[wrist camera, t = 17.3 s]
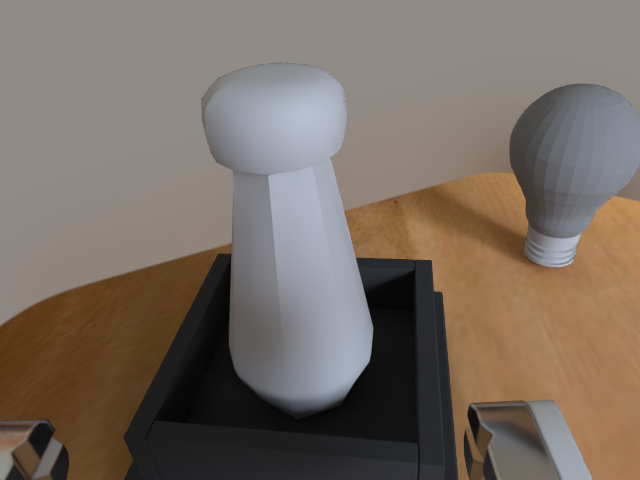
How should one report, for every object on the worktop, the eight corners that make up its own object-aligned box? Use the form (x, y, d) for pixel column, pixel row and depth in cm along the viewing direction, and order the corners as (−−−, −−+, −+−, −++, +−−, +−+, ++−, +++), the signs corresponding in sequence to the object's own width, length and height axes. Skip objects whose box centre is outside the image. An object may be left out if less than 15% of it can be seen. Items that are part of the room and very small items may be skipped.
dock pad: (440, 305, 26) (446, 251, 24) (460, 550, 17) (471, 491, 15) (220, 296, 28) (209, 244, 26) (122, 510, 19) (92, 454, 17)
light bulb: (486, 281, 28) (513, 104, 22) (498, 225, 32) (523, 65, 27) (608, 304, 26) (673, 114, 20) (603, 240, 30) (654, 70, 25)
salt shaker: (257, 326, 25) (206, 49, 17) (376, 332, 24) (375, 43, 16) (222, 431, 20) (132, 110, 13) (368, 443, 19) (363, 107, 12)
